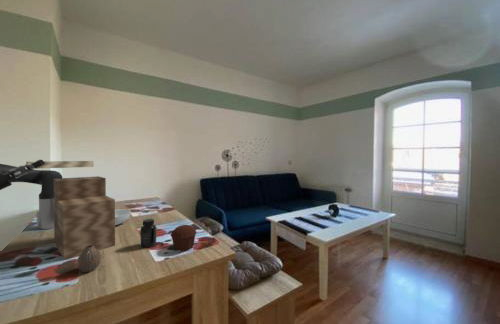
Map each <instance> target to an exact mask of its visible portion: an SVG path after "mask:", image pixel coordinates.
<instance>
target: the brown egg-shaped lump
mask: <svg viewBox="0 0 500 324" xmlns="http://www.w3.org/2000/svg"><path fill="white" fill-rule="evenodd" d="M101 260H102V254H101V252H100V250H97V249H96V248H95V247H94V246H93V245H89V246H86V247H85V249H84V250H83V252H82V253H81V254H80V256H78V258H77V264H76V265H77V268H78V270H79V271H81V272H82V273H89V272H93V271H95V270H96V269H97V268H98V267H99V266H100V264H101Z"/></svg>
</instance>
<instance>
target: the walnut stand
mask: <svg viewBox="0 0 500 324" xmlns="http://www.w3.org/2000/svg"><path fill="white" fill-rule="evenodd" d="M106 180H107V179H106V177H102V176H99V175H97V176H79V177H62V178H60V179H54V228H53V230H54V234H53V235H54V236H53V237H54V239H53V241H54V244H55V246H56V247H57V249H58V252H59V253H60V255H61V257H62V260H63V261H65V260H70V259H73V258H77V257H79V256H80V254H81V253H82V252H83V250H84V249H85V247H86V246H89V245H93V246H94V247H95V248H96V249H97V250H98V251H100V250H104V249H108V248H111V247H114V246H115V247H116V225H115V210H116V199H115V198H113V197H110V196H107V193H106V185H107V183H106V182H107V181H106Z"/></svg>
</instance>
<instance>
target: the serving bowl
mask: <svg viewBox="0 0 500 324" xmlns="http://www.w3.org/2000/svg"><path fill="white" fill-rule="evenodd" d="M131 213H132V212H131V210H130V209H122V208H121V209H115V226H118V225H120V224H122V223H124V222H126V221H128V220H129V218H130V217H131Z"/></svg>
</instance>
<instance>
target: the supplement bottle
mask: <svg viewBox="0 0 500 324" xmlns="http://www.w3.org/2000/svg"><path fill="white" fill-rule="evenodd" d="M139 230H140V247H142V248H151V247H153V246H156V244H157V225H156V224H155V219H154V218H147V219H143V221H142V226H141V227H140V229H139Z"/></svg>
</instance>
